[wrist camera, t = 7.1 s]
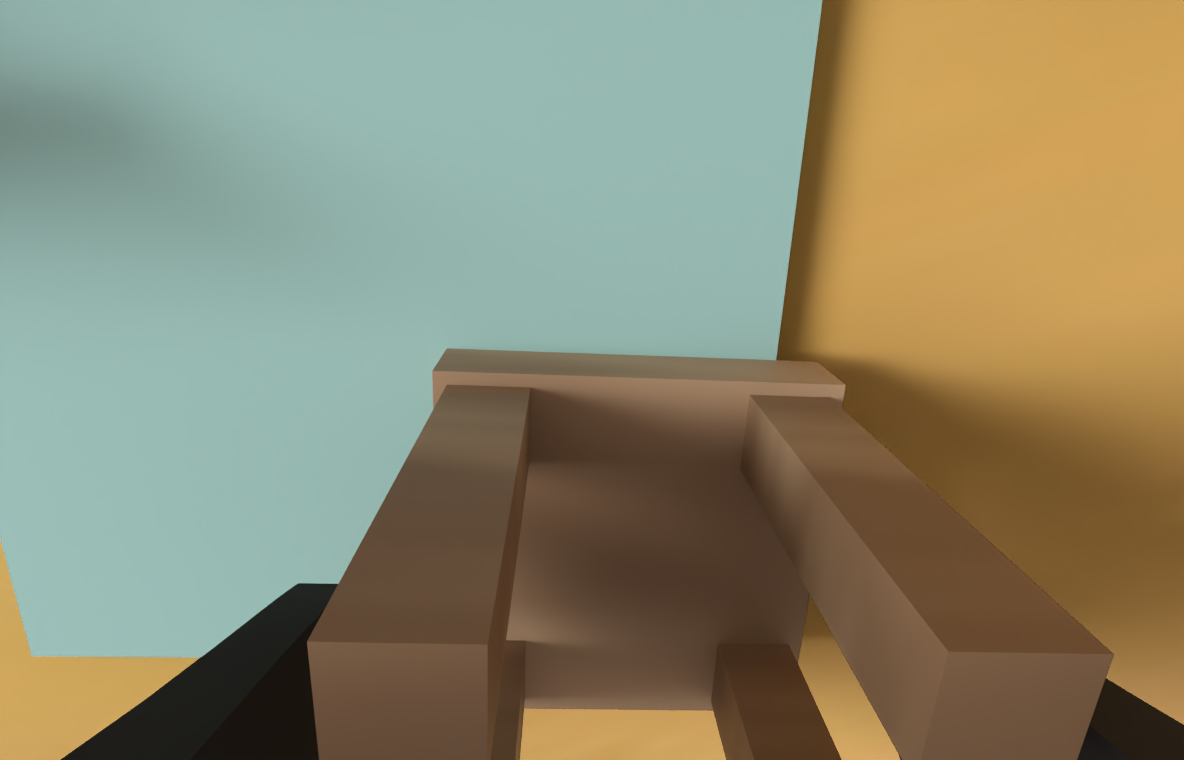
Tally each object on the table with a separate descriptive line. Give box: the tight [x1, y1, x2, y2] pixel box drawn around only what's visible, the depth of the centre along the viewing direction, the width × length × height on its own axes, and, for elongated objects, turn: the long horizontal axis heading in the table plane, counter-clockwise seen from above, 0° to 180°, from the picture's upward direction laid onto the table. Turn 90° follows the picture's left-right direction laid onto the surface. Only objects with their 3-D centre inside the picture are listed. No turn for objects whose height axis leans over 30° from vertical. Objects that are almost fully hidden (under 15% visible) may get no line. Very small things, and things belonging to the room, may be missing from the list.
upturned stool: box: [307, 348, 1114, 760], centre depth 9 cm, size 6×6×7 cm
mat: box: [0, 0, 823, 657], centre depth 10 cm, size 15×13×1 cm
